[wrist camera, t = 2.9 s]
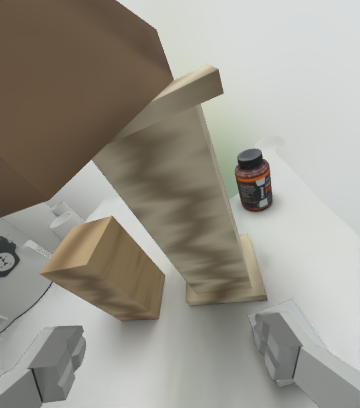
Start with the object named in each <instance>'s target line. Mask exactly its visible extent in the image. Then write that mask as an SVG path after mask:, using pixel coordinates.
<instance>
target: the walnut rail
mask: <svg viewBox="0 0 360 408" xmlns="http://www.w3.org/2000/svg"><path fill="white" fill-rule="evenodd" d="M173 80H174V79H173V76H172V73H171V70H170V67H169V64H168V62H167V59H166V56H165V53H164V50H163V47H162V45H161V42H160V39H159V36H158V33H157V30H156V29H154V28H153V27H152V26H151V25H149V24H148V23H147V22H145V21H144V20H142V19H141V18H140V17H138V16H137V15H135V14H134V13H133V12H131V11H130V10H128V9H127V8H126V7H124V6H123V5H122V4H120V3H119V2H118V1H116V0H0V218H1V217H4V216H7V215H10V214H12V213H15V212H18V211H21V210H23V209H26V208H29V207H32V206H34V205H37V204H40V203H43V202H45V201H48V200H50V199H51V198H52V197H53V196H54V195H55V194H56V193H57V192H58V191H59V190H60V189H61V188H62V187H63V186H64V185H65V184H66V183H67V182H68V181H69V180H71V179H72V177H74V176H75V175H76V174H77V173H78V172H79V171H80V170H81V169H82V168H83V167H84V166H85V165H86V164H87V163H88V162H89V161H90V160H91V159H92V158H93V157H94V156H95V155H96V154H97V153H98V152H100V151H101V150H102V149H103V148H104V147H105V146H106V145H107V144H108V143H109V142H110V141H111V140H112V139H113V138H114V137H115V136H116V135H117V134H118V133H119V132H120V131H121V130H122V129H123V128H124V127H125V126H126V125H128V124H129V123H130V122H131V121H132V120H133V119H134V118H135V117H136V116H137V115H138V114H139V113H140V112H141V111H142V110H143V109H144V108H145V107H146V106H147V105H148V104H149V103H150V102H151V101H152V100H153V99H154V98H155V97H157V96H158V95H159V94H160V93H161V92H162V91H163V90H164V89H165V88H166V87H167V86H168V85H169V84H170V83H171V82H172V81H173Z"/></svg>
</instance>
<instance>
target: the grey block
mask: <svg viewBox="0 0 360 408" xmlns="http://www.w3.org/2000/svg"><path fill="white" fill-rule="evenodd" d="M278 311H288V312H290V313H291V315H292V316H293V317H294V318H295V320H296V321H297V322H298V323H299V325H300V326H301V327H302V328H303V330H304V331H305V332H306V333H307V335H308V336H309V337H310V338H311V340H312V341H313V342H314V343H315V345H320V346H321V347H323V348H324V349H326V350H327V351H329V350H328V349H327V347H326V346H325V345H324V343H323V342H322V340H321V339H320V337H319V336H318V335H317V333H316V332H315V330H314V329H313V327H312V326H311V325H310V323H309V322H308V320H307V319H306V317H305V316H304V314H303V313H302V312H301V310H300V309H299V307H298V306H297V304H296V303H295V302H294V300H293V299H292V300H289V301H286V302H283V303H281V304H278V305H275V306H273V307H270V308H267V309H264V310H262V311H259V312H256V313H263V312H278ZM256 313H254V314H251V315H248V319H249V321H250V323H251V325H252V328H254V326H255V325H256V321H255V315H256ZM276 381H277V384H278V386H279V388H280V387H284V386H287V385H290V384H293V383H295V382H294V381H293V379H290V380H276Z"/></svg>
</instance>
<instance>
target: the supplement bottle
mask: <svg viewBox="0 0 360 408" xmlns="http://www.w3.org/2000/svg"><path fill="white" fill-rule="evenodd" d="M262 158H263V157H262V152H261V150H259V149H249V150H246V151H243V152H241V153H240V154H239V155H238V157H237V159H238V165H237V166H236V168H235V176H236V180H237V185H238V190H239V194H240V198H241V202H242V205H243V206H244V207H245V208H246V209H248V210H253V211H257V210H262V209H265V208H267V207H268V206H269V205H270V204H271V202H272V190H271V178H270V167H269V163H268V162H267V161H266V160H265V159H262Z"/></svg>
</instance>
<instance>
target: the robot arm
mask: <svg viewBox="0 0 360 408" xmlns="http://www.w3.org/2000/svg"><path fill="white" fill-rule="evenodd" d="M52 255H53V254H51V255H48V256H46V255H44V254H42V253H41V252H39V251H37V250H35V249H33V248H31V247H30V246H27V245H23V246H16V244H14V243H13V242H11V241H10V240H9V239H6V238H4V237H2V236H0V332H1V331H3V330H4V329H5V328H6V327H7V326H8V325H9V324H10V323H11V322H12V321H13V320H14V319H16V318H17V317H18V316H20V315H21V314H22V313H24V312H25V311H26V310H28V309H29V308H30V307H31V306H32V305H33V304H34V303H35V302H36V301H37V300H38V299H39V298H40V297H41V296H42V295H43V294H44V292H45V291H46V290H47V288H48V287H49V285H50V284H51V282H52V281H51V280H49V279H47V278H45V277H44V276H42V275H40V274H39V273H40V271H41V270H42V269H43V267H44V266H45V264H46V263H47V262H48V260H49V259H50V258H51V256H52ZM255 321H256V325H255V326H254V328H253V334H254V340H255V343H256V345H257V348H258V350H259V351H260V352H261V353H262V354H263V355H264V356H265V360H264V362H265V365H266V367H267V369H268V371H269V373H270V375H271V377H272V379H273V380H290V379H293V381H294V382H295V383H296V384H297V385H298V386H299V387H300V388H301V389H302V390H303V391H304V392H305V393H306V394H307V395H308V396H309V397H310V398H311V399H312V400H313V401H314V402H315V403H316V404H317V405H318V406H319V407H320V408H360V372H359V371H358V370H356V369H355V368H353V367H352V366H350V365H349V364H347V363H345V362H344V361H342V360H341V359H339V358H338V357H336V356H335V355H333V354H332V353H330V352H329V351H327V350H326V349H324V348H323V347H321V346H320V345H315V343H314V342H313V341H312V340H311V338H310V337H309V336H308V335H307V333H306V332H305V331H304V330H303V328H302V327H301V326H300V325H299V323H298V322H297V321H296V320H295V318H294V317H293V316H292V315H291V313H290V312H288V311H278V312H263V313H256V315H255ZM83 332H84V331H83V327H82V326H58V327H46V328H44V329H43V330H42V331H41V332H40V333H39V335H38V336H37V337H36V339H35V340H34V341H33V343H32V344H31V345H30V347H29V348H28V350H27V351H26V352H25V354H24V355H23V356H22V358H21V359H20V360H19V362H18V363H17V364H16V366H15V367H14V368H13V370H12V371H7V372H6V373H5V374H3V375H2V376H1V377H0V408H40V407H41V406H42V403H47V402H55V401H62V400H66V399H67V396H68V394H69V392H70V389H71V387H72V385H73V382H74V380H75V375H74V372H75V371H76V370H77V369H78V368H79V367H80V366H81V363H82V361H83V358H84V354H85V350H86V341H85V338H83V337H82V334H83Z"/></svg>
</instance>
